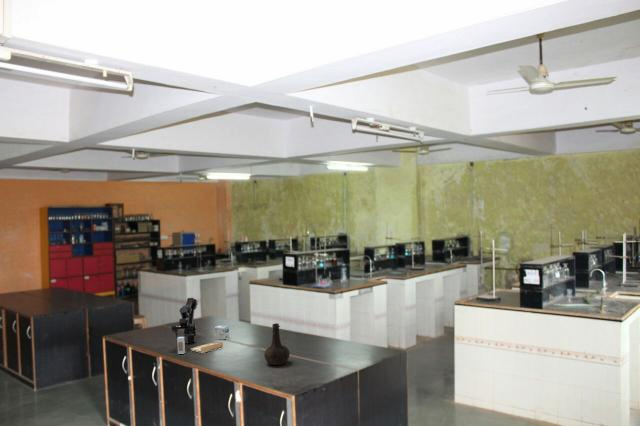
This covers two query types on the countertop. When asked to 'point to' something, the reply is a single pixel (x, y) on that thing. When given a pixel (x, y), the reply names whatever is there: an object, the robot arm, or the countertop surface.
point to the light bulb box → (222, 332)
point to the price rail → (211, 346)
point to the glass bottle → (276, 349)
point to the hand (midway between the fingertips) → (182, 336)
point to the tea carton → (181, 345)
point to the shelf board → (198, 349)
